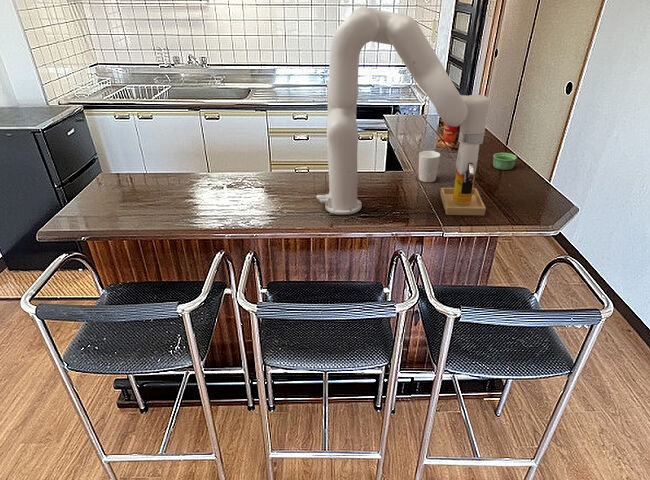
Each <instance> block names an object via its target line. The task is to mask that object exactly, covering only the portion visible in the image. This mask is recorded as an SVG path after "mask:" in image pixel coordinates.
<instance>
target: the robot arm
mask: <svg viewBox="0 0 650 480" xmlns="http://www.w3.org/2000/svg"><path fill="white" fill-rule="evenodd" d="M370 42H372V43H378V44H383V45H390V46H392V47H393V49H394V51H396V53H397V55H398V57H399V58H400V59H401V61H402V62H403V64H404V66H405V67H406V69H407V71H408V72H409V74H410V75H411V77H412V78H413V80H414V81H415V83H416V84H417V86H418V87H419V88H420V89H421V90H422V91H423V92H424V94H426V96H427V98H428V99H429V100H430V102H431V103H432V106H433V107H434V108H435V111H436V113H437V115H438V116H439V118H440V119H441V120H442V121H443V124H444V123H445V124H447V125H448V126H451V127H456V126H458V127H459V131H458V132H459V133H458V140H457V141H458V143H459V145H458V150H457V156H456V161H455V167H456V168H457V164H458V162H459V168H458V172H459V174H460V175H462V174H464V182H463V183H462V190H461V193H462V194H471V192H472V186H473V176H474V174H475V175H476V173H477V167H478V161H479V152H480V145H482V144H483V143H484V138H485V131H486V125H487V120H488V113H489V107H490V106H489V105H490V98H489V97H488V96H486V95H484V94H469V95H464V94H460V92H459V90H458V89H457V87H456V86H455V84H454V82H453V81H452V79H451V78H450V76H449V74H448V73H447V70H446V68H445V67H444V65H443V63H442V62H441V60H440V59H439V57H438V56H437V54H436V52H435V50H434V49H433V47H432V45H431V44H430V42H429V41H428V38H427V37H426V35H425V34H424V31H423V30H422V29H421V27H420V25H419V24H418V22H417V21H416V20H415V19H414V18H413V17H412V16H410V15H408V14H404V13H398V12H391V11H386V10H381V9H376V8H371V7H368V6H367V7H366V6H361V7H358V8H356V9H354V10H353V11H351V14H350V15H349V16H348V17H346V18H345V19H344V20H343V21H342V22H340V24H339V26H338V27H337V28H336V30H335V32H334V33H333V35H332V39H331V43H330V48H329V64H328V65H329V68H328V82H327V118H326V120H327V123H326V145H327V146H326V147H327V165H328V193H326V194H317V195H316V201H319V204H324V208H325V210H326V211H327V212H329V213H331V214H334V215H339V216H345V215H346V216H347V215H352V214H355V213H358V212H360V210H361V209H362V207H363V205H362V202H361V200H359V199H358V146H359V145H358V143H359V127H358V122H357V108H358V107H357V105H358V98H359V92H360V91H359V66H360V54H361V51H362V49H363V48H364V46H366V44H368V43H370ZM466 172H469V173H466ZM475 172H476V173H475ZM466 176H469V177H467V178H466ZM473 187H474V186H473Z"/></svg>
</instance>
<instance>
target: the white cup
mask: <svg viewBox="0 0 650 480" xmlns="http://www.w3.org/2000/svg"><path fill="white" fill-rule="evenodd" d="M440 159H441V153H440V152H438V151H435V150H422V151H420V152H419V153H418V180H419V181H420V182H423V183H433V182H435V181H436V180H437V176H438V171H439V167H440V161H441V160H440Z"/></svg>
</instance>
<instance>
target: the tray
mask: <svg viewBox="0 0 650 480" xmlns="http://www.w3.org/2000/svg"><path fill="white" fill-rule="evenodd" d="M453 194H454V187H440V194H439V195H440V198H441V203H442V205H443V208H444V211H445V215H446V216H485V215H486V211H487V208H486V205H485V203H484V202H483V199H482V198H481V195H480V192H479V190H478V189H477V187H473V192H472V198H471V202H470V203H469V204H468V205H466V206H459V205H456V204H455V203H454V202H453Z"/></svg>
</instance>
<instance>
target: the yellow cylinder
mask: <svg viewBox="0 0 650 480" xmlns="http://www.w3.org/2000/svg"><path fill="white" fill-rule="evenodd" d="M458 168H459V162H458V164H457V167H456V173H455V179H454V180H455V181H454V187H453V188H454V194H453V202H454V203H455V204H456V205H459V206H466V205H468V204H469V203H470V202H471V198H472V192H473V188H474V185H475V179H476V173H477V171H476V172H475V174H474V176H473V186H472V192H471V194H462V193H461V190H462V183H463V182H464V174H462V175H460V174H459V172H458ZM466 173H469V172H466ZM467 177H469V176H466V178H467Z"/></svg>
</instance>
